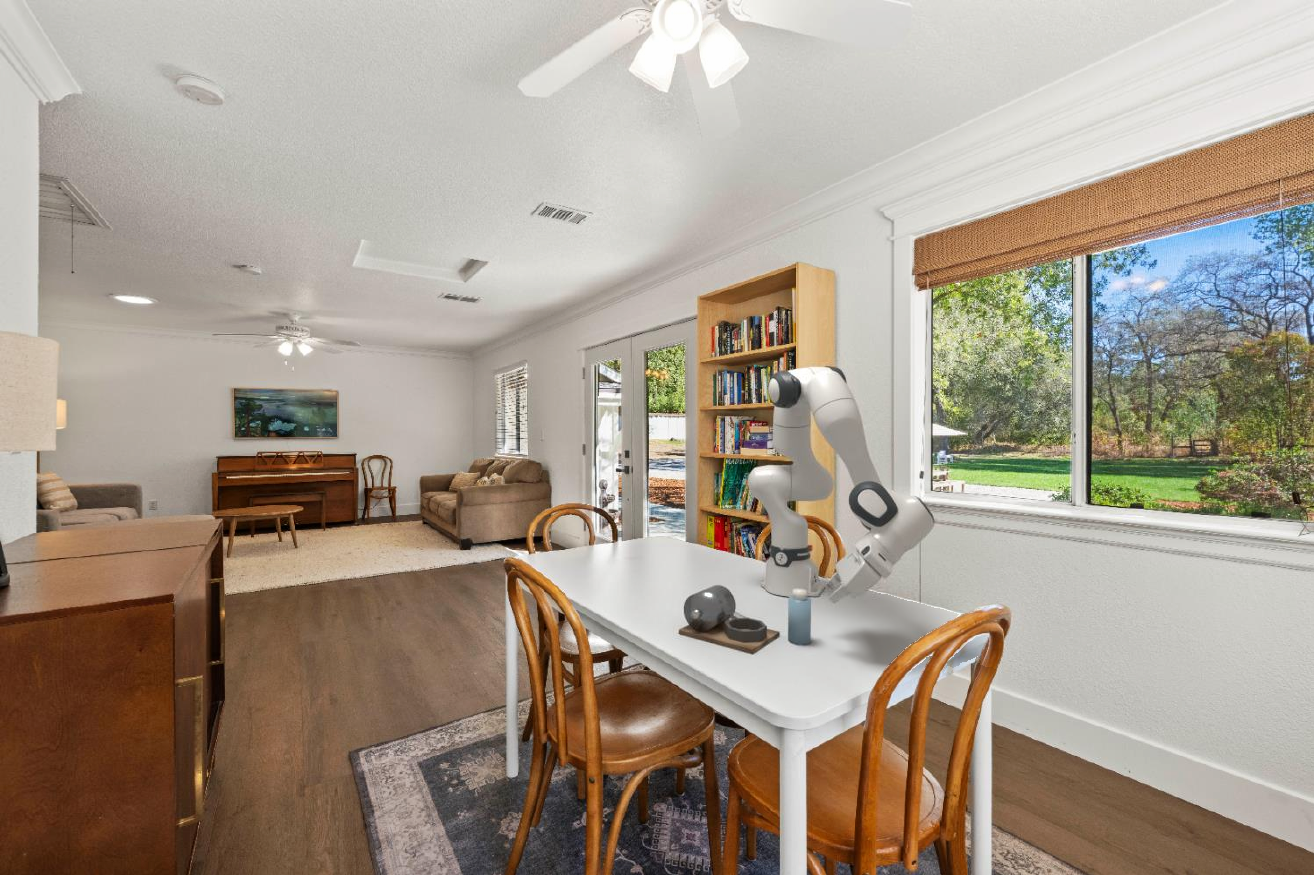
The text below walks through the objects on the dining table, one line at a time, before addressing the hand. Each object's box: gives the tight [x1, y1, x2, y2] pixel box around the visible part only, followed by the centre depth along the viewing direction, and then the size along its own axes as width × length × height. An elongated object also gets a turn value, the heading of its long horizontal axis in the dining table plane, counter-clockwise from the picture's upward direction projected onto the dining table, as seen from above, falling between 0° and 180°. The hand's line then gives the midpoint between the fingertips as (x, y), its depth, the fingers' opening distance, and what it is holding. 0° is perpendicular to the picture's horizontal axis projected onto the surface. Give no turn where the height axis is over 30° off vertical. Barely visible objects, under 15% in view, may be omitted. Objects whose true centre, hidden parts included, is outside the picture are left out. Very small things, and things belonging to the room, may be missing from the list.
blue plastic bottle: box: [787, 588, 812, 646], centre depth 131 cm, size 5×5×12 cm
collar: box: [725, 617, 768, 643], centre depth 132 cm, size 9×9×2 cm
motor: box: [683, 584, 737, 632], centre depth 137 cm, size 12×9×9 cm
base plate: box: [678, 619, 780, 655], centre depth 135 cm, size 14×20×1 cm
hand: (828, 594), depth 130 cm, fingers open, 8 cm apart
